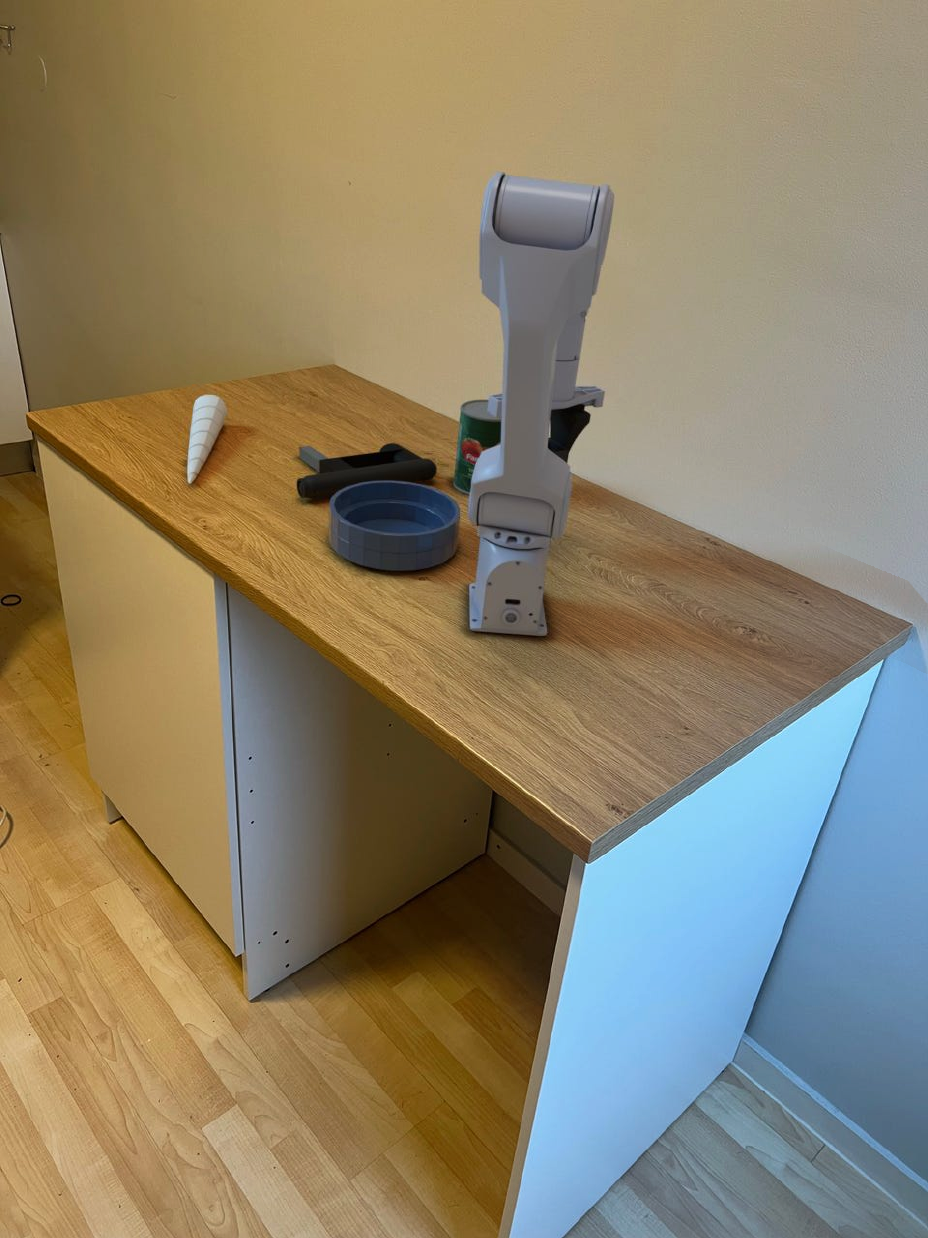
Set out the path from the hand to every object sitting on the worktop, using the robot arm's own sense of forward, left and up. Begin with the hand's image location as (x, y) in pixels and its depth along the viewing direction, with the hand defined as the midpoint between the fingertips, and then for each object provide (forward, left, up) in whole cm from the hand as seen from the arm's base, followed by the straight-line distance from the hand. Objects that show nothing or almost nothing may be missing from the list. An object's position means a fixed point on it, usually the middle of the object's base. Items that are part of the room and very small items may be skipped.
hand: (537, 469), depth 109 cm
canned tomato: (+17, +5, -10) cm, 21 cm away
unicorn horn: (+22, +44, -10) cm, 50 cm away
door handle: (+17, +23, -10) cm, 31 cm away
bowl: (-3, +16, -10) cm, 19 cm away
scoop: (+1, +1, -1) cm, 2 cm away
